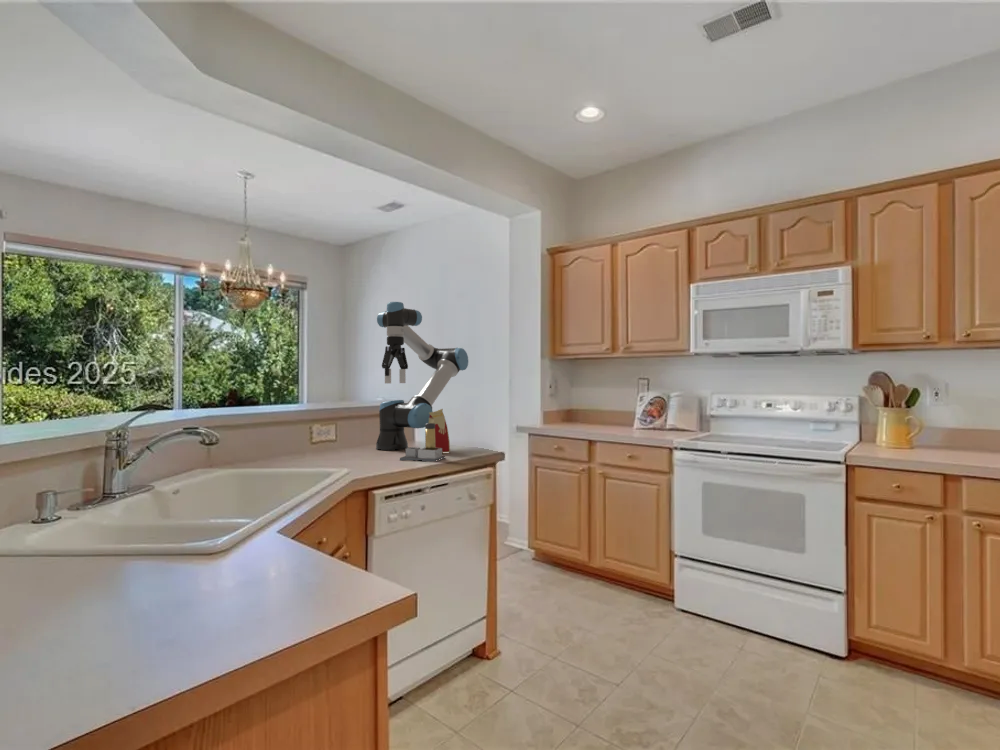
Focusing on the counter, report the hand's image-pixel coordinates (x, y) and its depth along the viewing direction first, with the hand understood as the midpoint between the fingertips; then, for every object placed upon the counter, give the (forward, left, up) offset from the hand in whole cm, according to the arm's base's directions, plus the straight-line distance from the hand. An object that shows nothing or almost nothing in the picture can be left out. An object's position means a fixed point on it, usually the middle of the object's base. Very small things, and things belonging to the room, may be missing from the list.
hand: (395, 383), depth 233 cm
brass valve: (+12, +22, -31) cm, 40 cm away
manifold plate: (+12, +19, -32) cm, 39 cm away
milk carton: (-8, +17, -32) cm, 37 cm away
